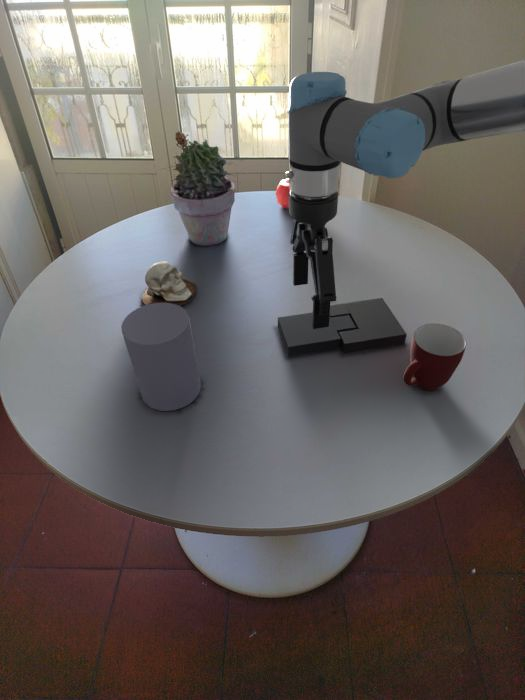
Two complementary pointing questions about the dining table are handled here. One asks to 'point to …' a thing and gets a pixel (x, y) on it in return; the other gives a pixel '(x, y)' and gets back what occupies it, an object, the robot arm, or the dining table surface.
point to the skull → (167, 285)
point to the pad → (311, 333)
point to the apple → (283, 193)
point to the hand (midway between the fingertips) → (309, 304)
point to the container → (162, 355)
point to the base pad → (368, 326)
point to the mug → (434, 356)
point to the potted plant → (202, 192)
